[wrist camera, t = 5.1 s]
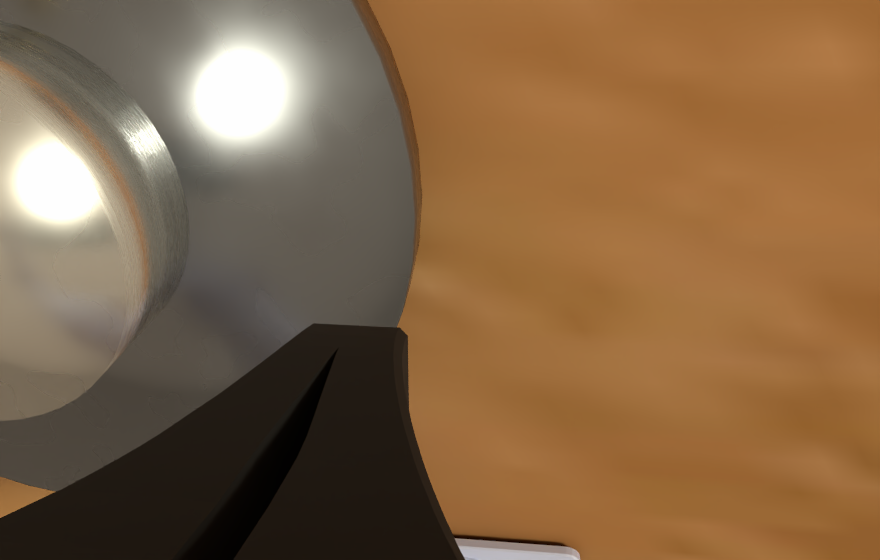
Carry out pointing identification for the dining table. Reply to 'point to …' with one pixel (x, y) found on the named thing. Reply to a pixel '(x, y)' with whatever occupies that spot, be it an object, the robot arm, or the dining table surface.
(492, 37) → the dining table surface
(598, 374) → the dining table surface
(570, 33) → the dining table surface
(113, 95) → the cover
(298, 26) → the disc
